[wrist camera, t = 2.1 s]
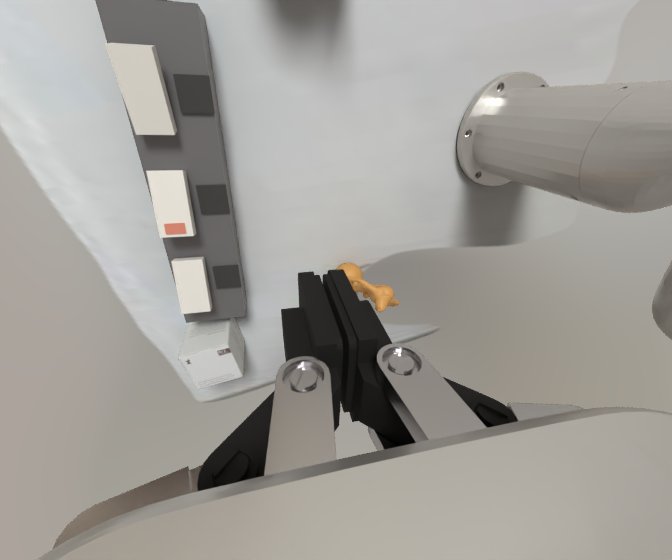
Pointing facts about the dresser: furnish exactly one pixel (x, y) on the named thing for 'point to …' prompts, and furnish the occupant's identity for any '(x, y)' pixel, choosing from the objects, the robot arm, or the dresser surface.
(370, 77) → the dresser surface
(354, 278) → the figurine
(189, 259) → the block
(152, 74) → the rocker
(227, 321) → the skincare box
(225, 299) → the power strip
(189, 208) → the block
